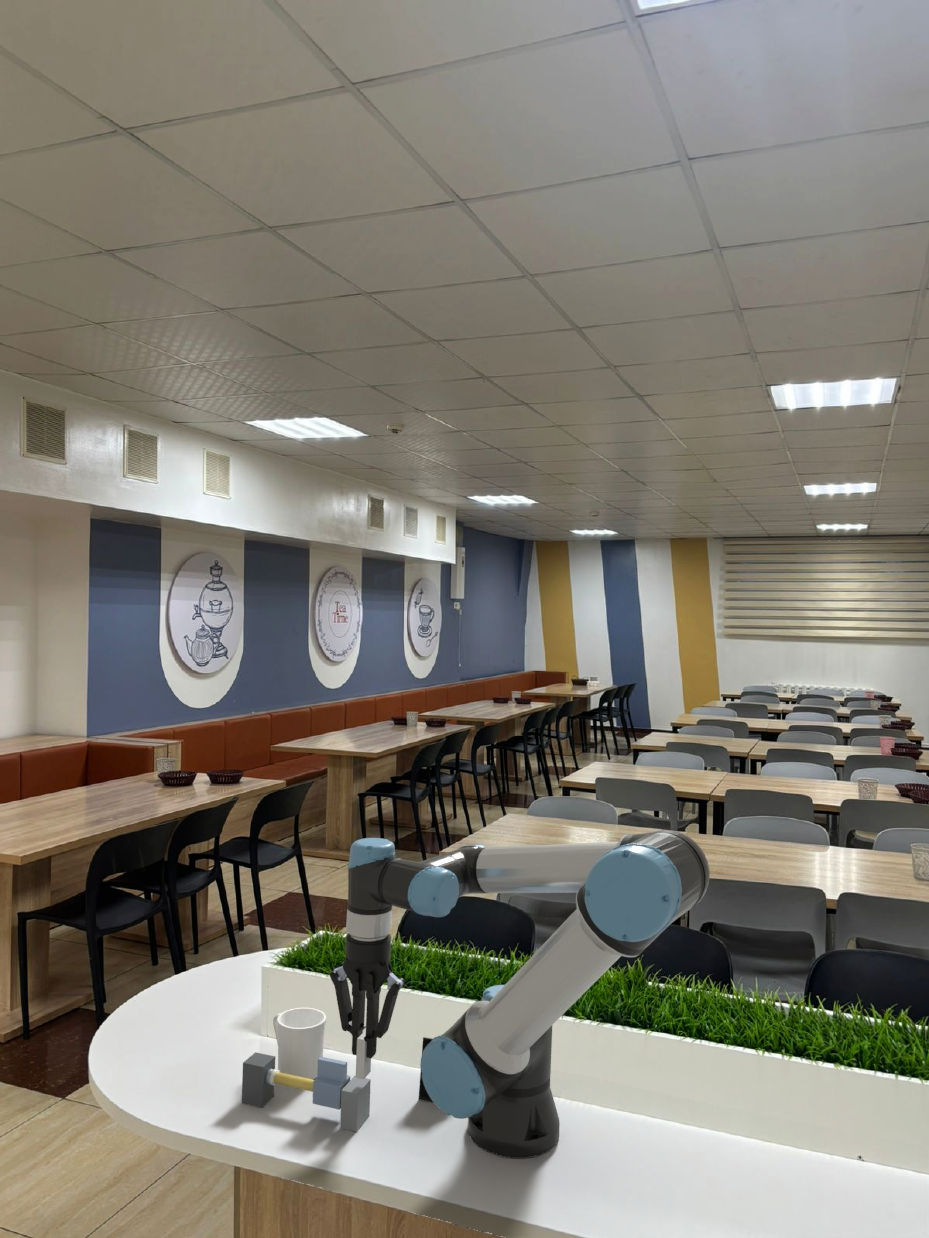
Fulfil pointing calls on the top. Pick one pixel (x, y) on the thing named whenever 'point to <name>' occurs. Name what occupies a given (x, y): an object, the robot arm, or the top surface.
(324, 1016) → the mug
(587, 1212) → the top surface
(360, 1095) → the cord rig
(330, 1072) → the sleeve
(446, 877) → the robot arm
